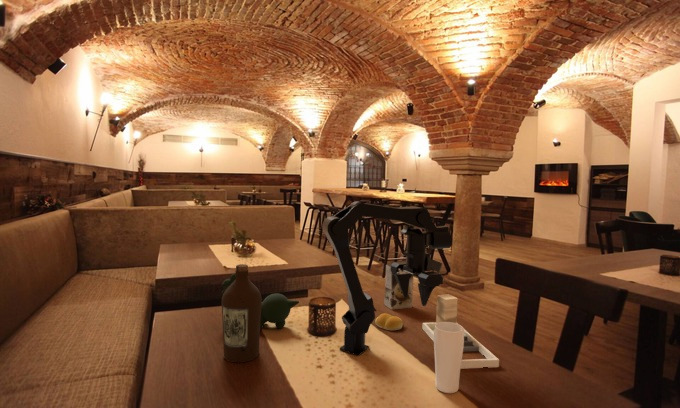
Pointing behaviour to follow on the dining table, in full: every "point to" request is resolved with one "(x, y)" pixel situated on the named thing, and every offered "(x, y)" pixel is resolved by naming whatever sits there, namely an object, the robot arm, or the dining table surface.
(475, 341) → the box
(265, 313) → the toy figurine
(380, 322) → the bread roll
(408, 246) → the robot arm
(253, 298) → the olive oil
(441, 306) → the maple block
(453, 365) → the drinking glass
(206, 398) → the dining table surface
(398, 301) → the white cardboard box
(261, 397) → the dining table surface
